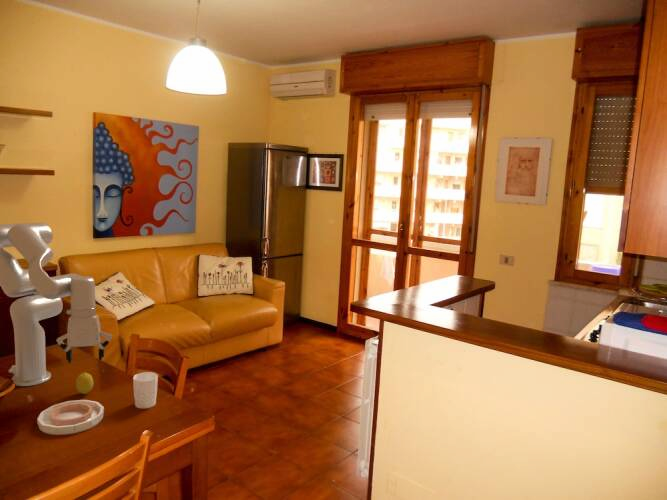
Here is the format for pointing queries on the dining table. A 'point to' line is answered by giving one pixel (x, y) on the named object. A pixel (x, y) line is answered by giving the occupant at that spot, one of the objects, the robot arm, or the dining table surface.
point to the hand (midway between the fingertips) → (85, 360)
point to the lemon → (84, 383)
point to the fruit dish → (70, 417)
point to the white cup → (145, 389)
